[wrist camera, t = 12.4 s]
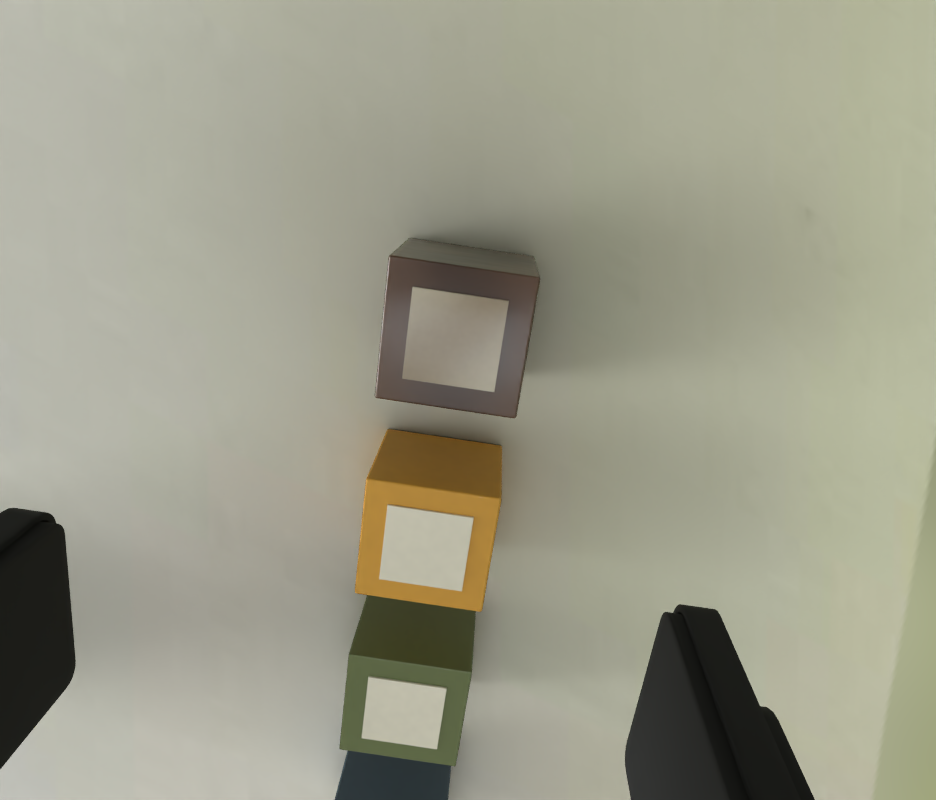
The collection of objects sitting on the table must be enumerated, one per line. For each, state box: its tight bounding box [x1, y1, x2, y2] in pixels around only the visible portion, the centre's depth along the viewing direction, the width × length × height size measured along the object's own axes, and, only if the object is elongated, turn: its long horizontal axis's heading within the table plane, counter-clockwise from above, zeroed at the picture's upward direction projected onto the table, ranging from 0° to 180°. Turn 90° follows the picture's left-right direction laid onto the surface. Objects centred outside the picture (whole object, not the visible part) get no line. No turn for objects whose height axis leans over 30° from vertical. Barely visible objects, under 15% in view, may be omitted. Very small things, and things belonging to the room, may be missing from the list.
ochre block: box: [355, 429, 502, 612], centre depth 29 cm, size 5×5×5 cm
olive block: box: [340, 595, 476, 766], centre depth 31 cm, size 5×5×5 cm
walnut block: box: [375, 238, 540, 418], centre depth 26 cm, size 5×5×5 cm
